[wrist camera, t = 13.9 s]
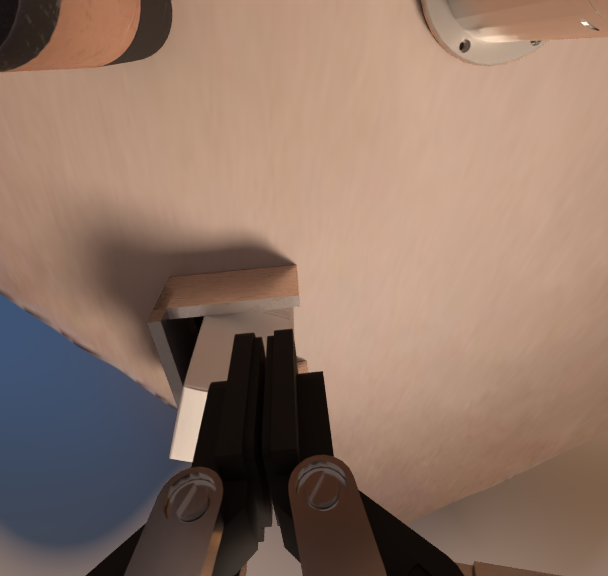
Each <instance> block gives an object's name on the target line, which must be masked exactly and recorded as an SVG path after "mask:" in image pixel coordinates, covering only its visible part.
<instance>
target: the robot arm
mask: <svg viewBox="0 0 608 576" xmlns="http://www.w3.org/2000/svg"><path fill="white" fill-rule="evenodd" d="M421 3H422V8H423V12H424V17H425V19H426V21H427V24H428V26H429V28H430V31H431V33H432V34H433V36H434V37H435V39H436V40H437V41H438V43H439V44H440V45H441V46H442V47H443V48H444V49H445V50H446V51H447V52H448V53H449V54H451V55H452V56H454V57H456V58H458V59H460V60H461V61H463V62H467V63H471V64H475V65H485V66H493V65H503V64H507V63H510V62H513V61H517V60H520V59H522V58H524V57H525V56H527V55H529V54H531V53H533V52H535V51H536V50H538V49H539V48H540V47H542V46H543V45H544V44H546V43H547V42H548V41H550V40H559V39H579V38H599V37H608V0H421ZM530 41H532V42H530ZM460 43H463V48H462V49H461V50H459V45H460ZM272 505H273V506H274V511H275V515H276V520H277V524H278V526H280V528H281V533H282V538H283V542H284V546H285V548H286V549H287V550H288V551H289V552H290V553H291V554H292V555H293V556H294V557H295V558H296V559H297V560H298V561H299V562H300V563H301V568H302V574H303V576H560V575H554V574H548V573H542V572H536V571H530V570H524V569H518V568H512V567H506V566H500V565H493V564H487V563H482V562H476V561H474V563H473V565H468V564H461V563H456V562H453V561H452V560H451V559H450V558H449V557H448V556H447V555H446V554H444V553H443V552H441V551H440V550H439V549H438V548H436V547H435V546H433V545H432V544H431V543H429V542H428V541H427V540H425V539H424V538H423V537H421V536H420V535H419V534H417V533H416V532H415V531H413V530H411V528H409V527H408V526H407V525H405V524H404V523H402V522H401V521H400V520H398V519H397V518H396V517H394V516H393V515H392V514H390V513H389V512H388V511H386V510H385V509H384V508H382V507H381V506H380V505H378V504H377V503H375V502H374V501H373V500H371V499H370V498H369V497H367V496H366V495H365V494H363V493H362V492H361V491H359V490H358V487H357V485H356V482H355V479H354V476H353V474H352V472H351V470H350V468H349V467H348V466H347V465H346V464H345V463H344V462H343V461H341V460H339V459H337V458H335V457H334V454H333V447H332V439H331V431H330V423H329V415H328V408H327V400H326V392H325V384H324V376H323V371H321V372H311V373H301V374H298V366H297V358H296V350H295V342H294V334H293V329H283V330H274V335H273V336H267V348H266V355H265V350H264V344H263V339H262V337H256V336H255V333H254V332H253V333H242V334H235V336H234V342H233V348H232V354H231V360H230V366H229V371H228V377H227V381H218V382H211V384H210V386H209V389H208V393H207V398H206V403H205V407H204V412H203V416H202V421H201V425H200V430H199V434H198V439H197V444H196V448H195V453H194V457H193V462H192V466H191V468H188V469H186V470H183V471H181V472H179V473H178V474H176V475H175V476H173V477H172V478H171V479H170V480H169V481H168V482H167V483H166V484H165V485H164V486H163V488H162V490H161V491H160V493H159V495H158V497H157V499H156V502H155V504H154V506H153V508H152V511H151V513H150V516H149V518H148V520H147V522H146V524H145V525H143V526H142V527H141V528H140V529H139V530H138V531H137V532H135V533H134V534H133V535H132V536H131V537H130V538H128V539H127V540H126V541H125V542H124V543H123V544H122V545H121V546H119V547H118V548H117V549H116V550H115V551H114V552H112V553H111V554H110V555H109V556H108V557H107V558H106V559H104V560H103V561H102V562H101V563H100V564H99V565H97V567H95V568H94V569H93V570H92V571H91V572H89V573H88V574H87V575H86V576H246V572H247V561H248V560H249V559H250V558H251V557H252V556H253V555H254V553H255V552H256V551H257V550H258V542H263V541H264V527H271V526H272V509H273V507H272Z"/></svg>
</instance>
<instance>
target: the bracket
mask: <svg viewBox="0 0 608 576" xmlns="http://www.w3.org/2000/svg"><path fill="white" fill-rule="evenodd" d="M291 307H300V300H299V286H298V273H297V265H289V266H279V267H269V268H258V269H248V270H238V271H228V272H217V273H207V274H197V275H187V276H177V277H170V278H169V280H168V282H167V284H166V286H165V288H164V290H163V292H162V294H161V296H160V298H159V300H158V302H157V304H156V306H155V308H154V310H153V312H152V314H151V316H150V318H149V320H148V322H147V325H148V328H149V330H150V333H151V336H152V338H153V341H154V344H155V347H156V349H157V352H158V355H159V358H160V360H161V363H162V366H163V369H164V371H165V374H166V377H167V380H168V382H169V385H170V388H171V391H172V393H173V396H174V399H175V402H176V404H177V407H178V409H179V403H180V399H181V394H182V390H183V386H184V382H185V379H186V375H187V372H188V368H189V365H190V361H191V358H192V355H193V351H194V348H195V345H196V341H197V338H198V333H197V329H196V326H195V322H194V319H193V317H198V316H209V315H219V314H229V313H239V312H250V311H260V310H270V309H280V308H291ZM297 366H298V374H301V373H308V367H307V361H302V362H297Z"/></svg>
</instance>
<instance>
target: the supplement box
mask: <svg viewBox="0 0 608 576" xmlns="http://www.w3.org/2000/svg"><path fill="white" fill-rule="evenodd" d="M283 329H293V334H294V307H291V308H280V309H270V310H260V311H250V312H239V313H229V314H219V315H209V316H204V319H203V322H202V325H201V328H200V332H199V335H198V338H197V341H196V345H195V348H194V351H193V355H192V358H191V361H190V365H189V368H188V372H187V375H186V379H185V382H184V386H183V390H182V394H181V399H180V403H179V409H178V414H177V419H176V424H175V429H174V435H173V440H172V445H171V451H170V459H177V460H182V461H189V462H193V457H194V453H195V448H196V444H197V439H198V434H199V430H200V425H201V421H202V416H203V412H204V407H205V403H206V398H207V393H208V389H209V386H210V384H211V382H218V381H227V377H228V371H229V366H230V360H231V354H232V348H233V342H234V336H235V334H242V333H253V332H254V333H255V336H256V337H262V339H263V344H264V350H265V355H266V348H267V336H273V335H274V330H283ZM294 342H295V338H294Z"/></svg>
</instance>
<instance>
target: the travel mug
mask: <svg viewBox="0 0 608 576" xmlns="http://www.w3.org/2000/svg"><path fill="white" fill-rule="evenodd" d="M171 23H172V4H171V0H0V72H16V71H36V70H57V69H77V68H94V67H101V66H108V65H114V64H120V63H126V62H132V61H136V60H141V59H144V58H147V57H149V56H151V55H153V54H154V53H156V52H157V51H158V50H159V49H160V48H161V47H162V46H163V44H164V43H165V41H166V39H167V37H168V35H169V32H170V28H171Z"/></svg>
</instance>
